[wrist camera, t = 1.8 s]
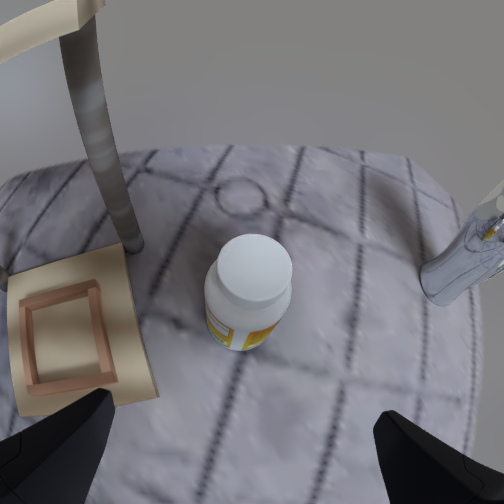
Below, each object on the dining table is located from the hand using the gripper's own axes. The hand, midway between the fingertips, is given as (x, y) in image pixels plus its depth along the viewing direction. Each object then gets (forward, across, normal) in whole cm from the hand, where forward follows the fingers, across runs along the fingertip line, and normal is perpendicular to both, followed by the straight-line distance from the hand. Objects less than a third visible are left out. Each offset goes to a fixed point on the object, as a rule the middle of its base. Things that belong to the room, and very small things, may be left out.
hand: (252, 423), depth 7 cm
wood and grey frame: (+12, +15, +7) cm, 20 cm away
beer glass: (+19, -23, 0) cm, 30 cm away
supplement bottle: (+15, 0, +4) cm, 15 cm away
